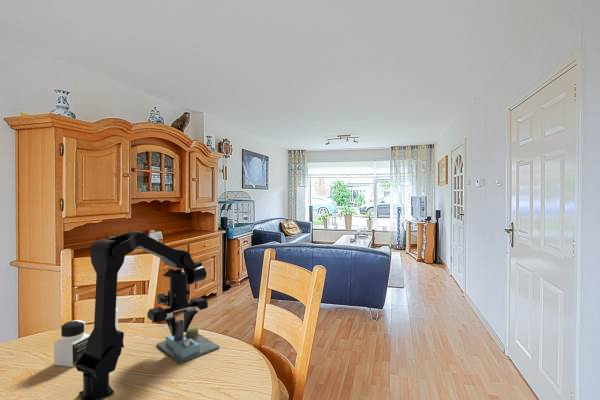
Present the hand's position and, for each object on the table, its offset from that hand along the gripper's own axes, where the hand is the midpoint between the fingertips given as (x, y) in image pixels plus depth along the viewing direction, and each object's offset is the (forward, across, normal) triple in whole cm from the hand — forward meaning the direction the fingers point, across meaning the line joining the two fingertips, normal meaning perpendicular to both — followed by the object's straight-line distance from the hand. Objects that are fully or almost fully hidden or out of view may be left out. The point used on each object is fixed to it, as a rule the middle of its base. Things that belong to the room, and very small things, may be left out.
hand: (179, 334), depth 109 cm
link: (+4, 0, +1) cm, 4 cm away
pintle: (+5, 0, +6) cm, 7 cm away
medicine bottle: (+5, +26, -16) cm, 32 cm away
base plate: (+5, -3, +1) cm, 6 cm away
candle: (+5, +14, -26) cm, 30 cm away
